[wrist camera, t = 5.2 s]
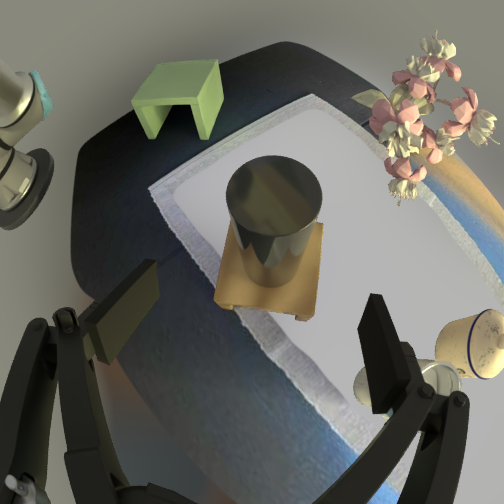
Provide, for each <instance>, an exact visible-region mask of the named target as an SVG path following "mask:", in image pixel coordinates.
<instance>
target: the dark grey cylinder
mask: <svg viewBox="0 0 504 504" xmlns="http://www.w3.org/2000/svg"><path fill="white" fill-rule="evenodd" d="M226 202H227V206H228V210H229V214H230V218H231V222H232V226H233V230H234V233H235V237H236V241H237V245H238V249H239V253H240V256H241V260H242V264H243V268H244V270H245V273H246V274H247V276H248V277H249V278H250V279H251V280H252V281H253V282H254V283H256V284H258V285H260V286H262V287H266V288H276V287H280V286H283V285H285V284H287V283H288V282H290V281H291V280H292V279H293V278H294V277H295V275H296V274H297V272H298V269H299V267H300V264H301V261H302V259H303V256H304V253H305V251H306V248H307V245H308V242H309V240H310V237H311V234H312V231H313V229H314V226H315V223H316V220H317V217H318V214H319V212H320V208H321V205H322V190H321V187H320V184H319V182H318V180H317V178H316V177H315V175H314V174H313V173H312V172H311V170H310V169H309V168H307V167H306V166H305V165H303V164H302V163H300V162H298V161H296V160H294V159H291V158H288V157H284V156H263V157H258V158H255V159H253V160H251V161H249V162H246V163H245V164H243V165H242V166H241V167H240V168H238V170H236V172H235V173H234V174H233V175H232V177H231V179H230V181H229V183H228V186H227V190H226Z"/></svg>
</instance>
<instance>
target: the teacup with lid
mask: <svg viewBox="0 0 504 504" xmlns="http://www.w3.org/2000/svg"><path fill="white" fill-rule="evenodd" d="M435 359H436V361H446V362H449V363H451V364H452V365H454V366H455V367H456V369H457V370H458V372H459V374H460V376H461V377H471V378H472V377H473V378H474V377H475V378H480V379H490V378H492V377H494V376H496V375H497V374H498V373H499V372H500V371H501V370H502V369H503V367H504V316H503V314H501V313H500V312H499V311H497V310H493V309H487V310H484V311H483V312H481V313H480V314H477V315H474V316H470V317H467V318H463V319H459V320H455V321H452V322H450V323H448V324H447V325H446V326H445V327H444V328H443V329H442V330H441V332H440V334H439V336H438V338H437V341H436V346H435Z"/></svg>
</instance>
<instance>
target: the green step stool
mask: <svg viewBox="0 0 504 504" xmlns="http://www.w3.org/2000/svg"><path fill="white" fill-rule="evenodd" d="M223 100H224V96H223V90H222V84H221V77H220V71H219V65H218V60H217V59H212V60H191V61H178V62H167V63H158V64H157V65H156V67H155V68H154V69H153V71H152V72H151V73H150V75H149V76H148V78H147V79H146V80H145V81H144V83H143V84H142V86H141V87H140V88H139V90H138V91H137V93H136V94H135V96H134V97H133V99H132V100H131V103H132V105H133V107H134V110H135V112H136V114H137V116H138V118H139V120H140V122H141V124H142V126H143V128H144V130H145V133H146V135H147V137H148V139H155V138H156V136H157V134H158V132H159V130H160V128H161V126H162V124H163V123H164V121H165V119H166V117H167V115H168V113H169V111H170V109H171V107H172V106H173V105H182V104H190V105H191V109H192V112H193V116H194V119H195V123H196V126H197V130H198V133H199V137H200V139H201V140H208V139H209V136H210V133H211V131H212V128H213V125H214V123H215V120H216V118H217V115H218V112H219V110H220V107H221V105H222V102H223Z"/></svg>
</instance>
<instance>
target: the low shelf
mask: <svg viewBox="0 0 504 504" xmlns="http://www.w3.org/2000/svg"><path fill="white" fill-rule="evenodd" d="M322 235H323V223H318V222H316V223H315V226H314V229H313V231H312V234H311V237H310V240H309V242H308V245H307V248H306V251H305V253H304V256H303V259H302V261H301V264H300V267H299V269H298V272H297V274H296V275H295V277H294V278H293V279H292V280H291V281H290V282H288V283H287V284H285V285H283V286H280V287H276V288H266V287H262V286H260V285H258V284H256V283H254V282H253V281H252V280H251V279H250V278H249V277H248V276H247V274H246V273H245V270H244V268H243V264H242V260H241V256H240V253H239V249H238V245H237V241H236V237H235V233H234V230H233V226H232V222H231V221H230V225H229V229H228V234H227V238H226V243H225V247H224V252H223V256H222V261H221V266H220V270H219V275H218V280H217V285H216V289H215V294H214V299H213V300H214V301H215V302H216V303H217V304H218V305H219V306H220V307H221V308H223V309H228V310H233V307H234V306H239V307H245V308H251V309H258V310H264V311H271V312H277V313H284V314H291V315H296V316H295V320H298V321H307V320H309V319H310V318H311V317H313V316H314V313H315V305H316V297H317V288H318V279H319V269H320V259H321V247H322Z"/></svg>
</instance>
